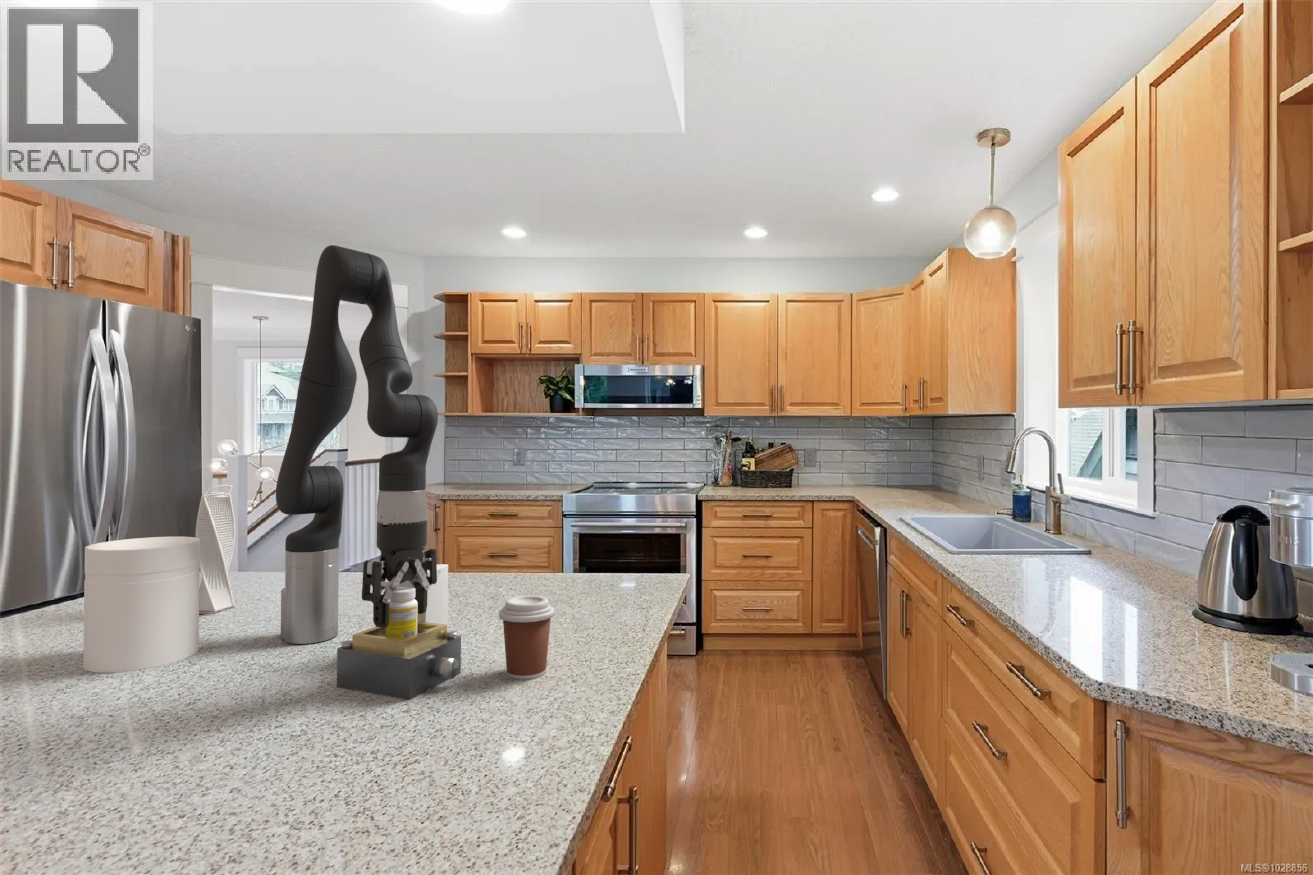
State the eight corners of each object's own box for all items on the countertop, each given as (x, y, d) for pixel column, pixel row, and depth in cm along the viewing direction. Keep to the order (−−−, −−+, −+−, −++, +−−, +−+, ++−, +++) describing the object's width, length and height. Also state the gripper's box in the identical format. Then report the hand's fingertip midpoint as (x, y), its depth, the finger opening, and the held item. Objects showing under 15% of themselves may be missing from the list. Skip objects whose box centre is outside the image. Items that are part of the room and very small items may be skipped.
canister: (218, 650, 119) (219, 540, 119) (115, 678, 104) (117, 553, 104) (166, 638, 126) (167, 534, 126) (62, 664, 111) (64, 546, 111)
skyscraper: (212, 604, 152) (213, 484, 152) (243, 605, 151) (245, 484, 151) (181, 613, 143) (182, 486, 144) (214, 615, 142) (215, 486, 143)
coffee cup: (506, 686, 102) (506, 609, 102) (492, 668, 110) (492, 597, 110) (561, 677, 106) (562, 603, 106) (544, 660, 114) (545, 591, 114)
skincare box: (424, 662, 113) (425, 572, 113) (390, 659, 114) (391, 570, 114) (449, 647, 121) (450, 563, 121) (417, 645, 123) (418, 561, 123)
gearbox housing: (336, 687, 101) (337, 635, 101) (392, 662, 112) (393, 616, 113) (426, 702, 95) (427, 647, 95) (476, 675, 107) (476, 626, 107)
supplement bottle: (391, 637, 107) (392, 586, 107) (420, 637, 107) (421, 585, 107) (381, 646, 102) (382, 592, 102) (412, 646, 102) (413, 592, 103)
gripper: (413, 513, 113) (413, 607, 112) (349, 522, 99) (348, 629, 99) (450, 514, 110) (449, 611, 110) (388, 524, 97) (387, 634, 97)
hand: (401, 619), depth 105 cm, fingers open, 8 cm apart
